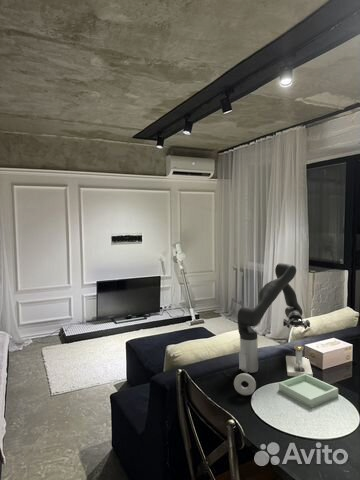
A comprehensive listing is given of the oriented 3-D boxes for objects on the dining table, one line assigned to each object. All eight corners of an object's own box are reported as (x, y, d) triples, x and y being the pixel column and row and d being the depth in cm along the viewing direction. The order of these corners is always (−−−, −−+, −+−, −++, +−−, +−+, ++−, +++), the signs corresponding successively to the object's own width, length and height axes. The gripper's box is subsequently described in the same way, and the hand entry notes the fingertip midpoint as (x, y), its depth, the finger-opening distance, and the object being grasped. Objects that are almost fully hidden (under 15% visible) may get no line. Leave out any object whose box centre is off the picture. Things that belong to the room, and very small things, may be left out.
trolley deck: (312, 377, 164) (312, 374, 164) (287, 375, 167) (287, 371, 167) (308, 360, 185) (308, 357, 185) (286, 359, 188) (285, 355, 188)
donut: (233, 396, 149) (233, 374, 148) (234, 392, 152) (233, 371, 152) (256, 397, 146) (255, 375, 146) (256, 394, 150) (255, 372, 150)
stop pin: (299, 376, 166) (299, 349, 166) (292, 372, 170) (292, 346, 170) (306, 374, 168) (305, 347, 168) (298, 370, 173) (298, 345, 172)
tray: (310, 407, 137) (310, 399, 137) (278, 390, 153) (278, 382, 153) (338, 396, 146) (338, 388, 145) (305, 380, 161) (305, 373, 161)
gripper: (282, 312, 197) (283, 319, 181) (307, 313, 193) (310, 320, 177) (282, 324, 197) (283, 332, 182) (308, 325, 193) (311, 334, 178)
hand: (297, 326), depth 180 cm, fingers open, 8 cm apart
